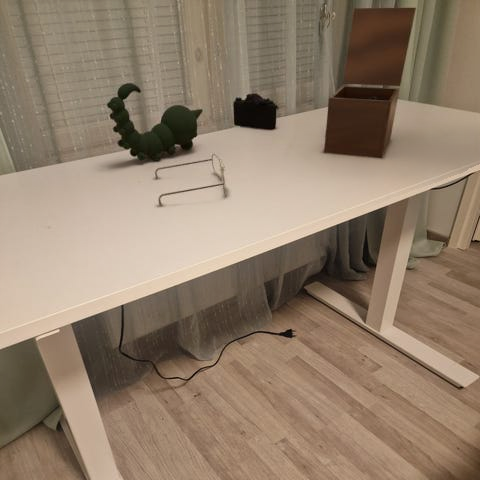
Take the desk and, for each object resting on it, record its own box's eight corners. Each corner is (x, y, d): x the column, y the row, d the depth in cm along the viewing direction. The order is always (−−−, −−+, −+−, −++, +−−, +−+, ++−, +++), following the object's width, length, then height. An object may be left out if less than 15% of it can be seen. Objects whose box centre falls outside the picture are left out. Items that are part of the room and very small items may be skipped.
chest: (381, 158, 106) (391, 101, 98) (323, 152, 110) (328, 98, 102) (390, 140, 117) (399, 88, 109) (337, 136, 121) (342, 85, 113)
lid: (415, 7, 101) (415, 8, 102) (354, 8, 106) (354, 9, 106) (399, 86, 108) (400, 86, 109) (342, 83, 113) (343, 83, 113)
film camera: (286, 123, 134) (287, 91, 128) (272, 131, 127) (273, 97, 122) (244, 118, 140) (244, 87, 134) (229, 125, 133) (228, 93, 128)
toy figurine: (136, 176, 105) (217, 145, 115) (114, 92, 92) (206, 66, 103) (119, 167, 111) (197, 138, 121) (95, 86, 98) (185, 62, 109)
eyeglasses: (231, 198, 89) (230, 174, 86) (159, 206, 87) (155, 181, 83) (218, 172, 101) (217, 150, 98) (155, 178, 99) (152, 156, 96)
